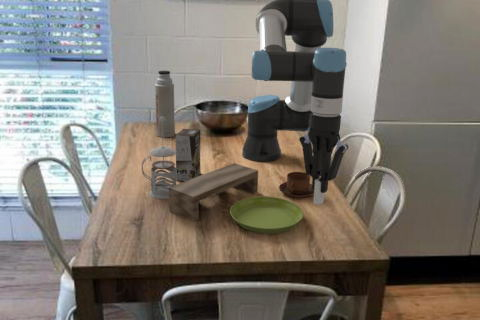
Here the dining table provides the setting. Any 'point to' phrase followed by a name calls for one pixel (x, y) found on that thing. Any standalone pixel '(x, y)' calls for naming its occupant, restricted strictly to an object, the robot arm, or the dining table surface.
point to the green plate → (266, 214)
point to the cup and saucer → (297, 185)
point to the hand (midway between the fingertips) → (318, 202)
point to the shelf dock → (210, 188)
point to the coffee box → (187, 154)
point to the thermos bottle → (164, 104)
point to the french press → (161, 187)
